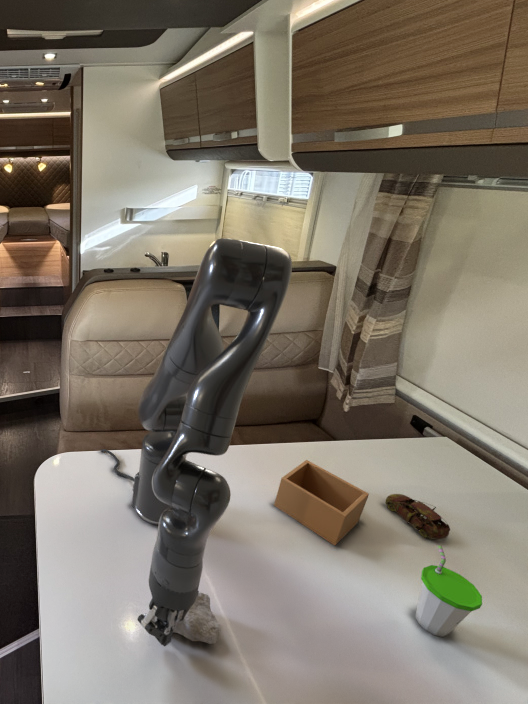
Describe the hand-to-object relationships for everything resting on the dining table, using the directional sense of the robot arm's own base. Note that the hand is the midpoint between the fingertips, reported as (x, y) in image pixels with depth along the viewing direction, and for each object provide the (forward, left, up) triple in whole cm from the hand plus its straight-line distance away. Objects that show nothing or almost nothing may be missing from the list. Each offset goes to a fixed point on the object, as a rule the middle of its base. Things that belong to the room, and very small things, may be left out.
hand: (162, 639), depth 74 cm
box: (+11, +53, -2) cm, 54 cm away
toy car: (+28, +67, -2) cm, 72 cm away
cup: (+33, +39, -2) cm, 51 cm away
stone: (+1, +6, -2) cm, 7 cm away
